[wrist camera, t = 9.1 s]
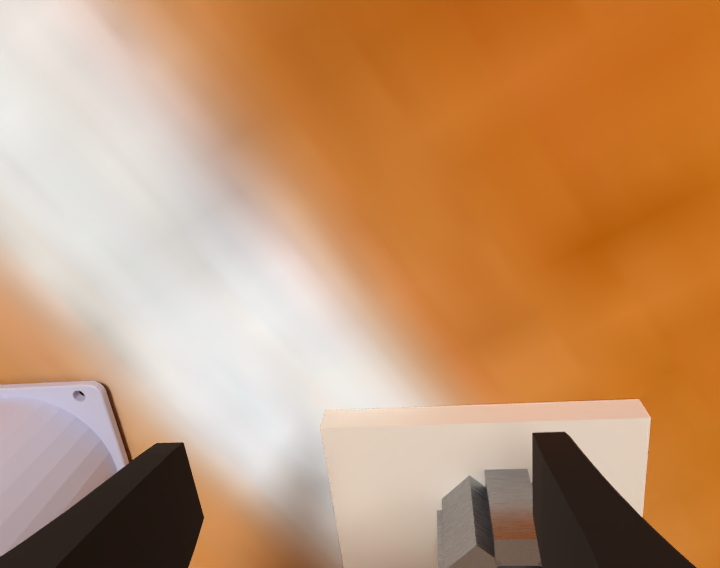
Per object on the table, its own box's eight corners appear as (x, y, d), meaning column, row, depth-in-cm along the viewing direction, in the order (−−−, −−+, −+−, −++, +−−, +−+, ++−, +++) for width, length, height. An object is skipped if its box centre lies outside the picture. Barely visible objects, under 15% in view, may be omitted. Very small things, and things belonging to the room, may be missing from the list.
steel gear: (442, 576, 24) (445, 654, 21) (433, 470, 22) (434, 540, 19) (578, 576, 23) (601, 657, 20) (581, 467, 21) (607, 538, 18)
